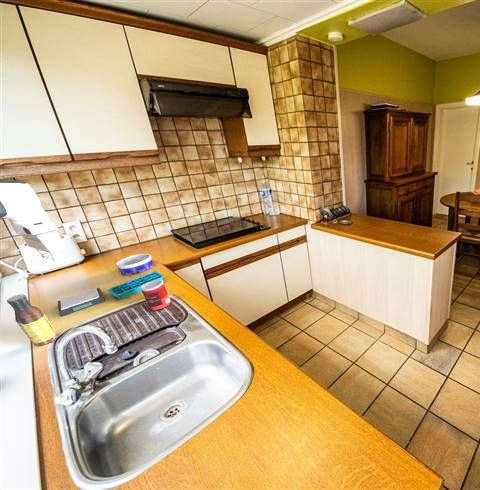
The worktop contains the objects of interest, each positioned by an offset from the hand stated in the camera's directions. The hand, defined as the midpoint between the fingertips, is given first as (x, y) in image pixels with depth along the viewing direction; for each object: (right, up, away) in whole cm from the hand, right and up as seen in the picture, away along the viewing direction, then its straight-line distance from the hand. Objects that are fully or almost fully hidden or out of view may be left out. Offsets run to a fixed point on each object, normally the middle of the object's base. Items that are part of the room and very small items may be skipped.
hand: (52, 259), depth 100 cm
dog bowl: (-12, -8, +51) cm, 53 cm away
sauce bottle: (-1, -31, -1) cm, 31 cm away
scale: (-12, -21, +21) cm, 32 cm away
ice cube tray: (+5, -16, +32) cm, 36 cm away
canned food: (+28, -21, +17) cm, 39 cm away
